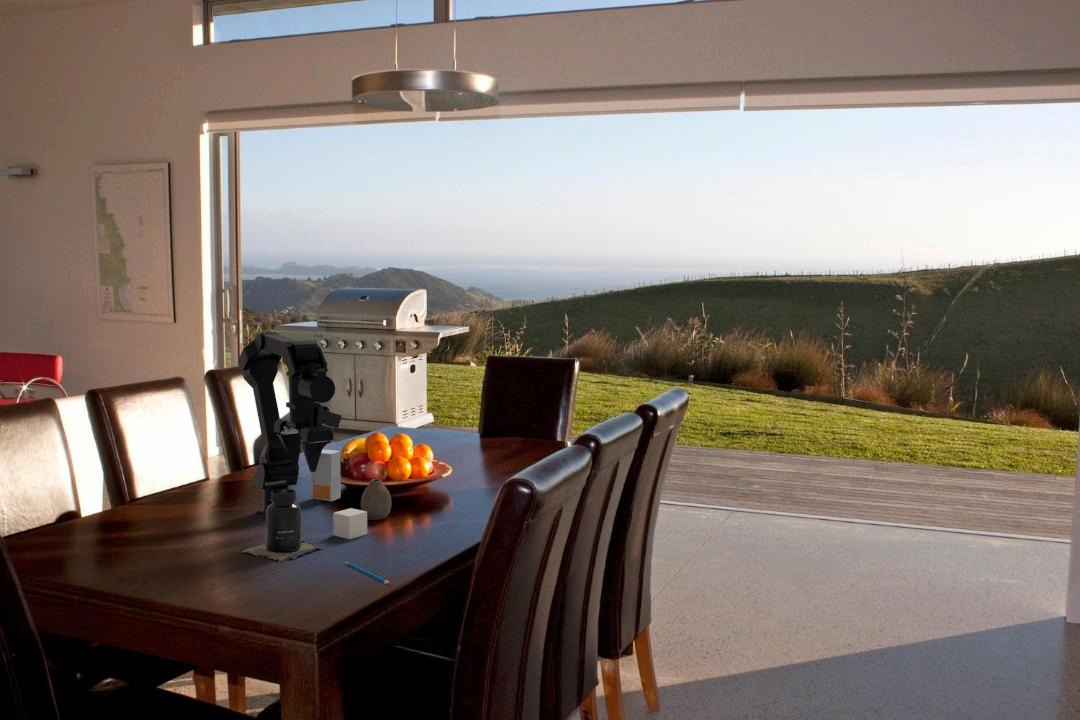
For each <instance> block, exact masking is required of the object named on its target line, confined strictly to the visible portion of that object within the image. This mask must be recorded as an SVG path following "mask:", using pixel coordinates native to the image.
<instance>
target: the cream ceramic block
mask: <svg viewBox="0 0 1080 720" xmlns="http://www.w3.org/2000/svg"><path fill="white" fill-rule="evenodd" d="M332 520H333V536H335V537H338V538H339V537H340V538H344V539H348V540H353V539H355V538H359V537H363V536H365V535H368V519H367V512H366V511H362V509H356V508H352V507H350V508H346V509H343V510H340V511H339V510H338V511H334V512H333V519H332Z"/></svg>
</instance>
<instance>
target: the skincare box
mask: <svg viewBox="0 0 1080 720" xmlns="http://www.w3.org/2000/svg"><path fill="white" fill-rule="evenodd" d="M310 473H311V474H310V475H311V481H310V482H311V483H310V484H311V488H310V489H311V499H312V500H321V501H324V502H325V501H326V502H333V501H337V500H339V499H341V451H340V450H334V449H333V450H332V449H324V448H323V449H322V452H321V455H320V458H319V462H318V465H317V469H316V471H315V472H310Z"/></svg>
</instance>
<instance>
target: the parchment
mask: <svg viewBox="0 0 1080 720" xmlns="http://www.w3.org/2000/svg"><path fill="white" fill-rule="evenodd" d="M318 549H320V550H321V549H323V547H317V544H314V543H311V542H305V540H301V547H300V549H299V550H298V551H296V552H291V553H276V552H270V551H268V550H267V549H266V542H265V543H261V544H258V545H256V546H251V547H248V548H246V549H244V550H240V552H239V553H249V554H251V555H253V556H255V557H257V558H259V557H260V558H261V559H263V558H266V559H269V560H270V559H271V560H272V559H273V560H276V561H278V562H279V563H281V562H283V560H285V559H286V558H287V557H288V558H287V562H288V561H289V560H294V558H293V556H292V555H295V554H297V553H299V552H301V551H305V552H304V553H300V554H297V555H296V558H295V559H298V558H300V557H302V556H303V555H306V554H309V553H311V552H314V551H316V550H318ZM307 550H308V551H307ZM289 556H292V557H289Z"/></svg>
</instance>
